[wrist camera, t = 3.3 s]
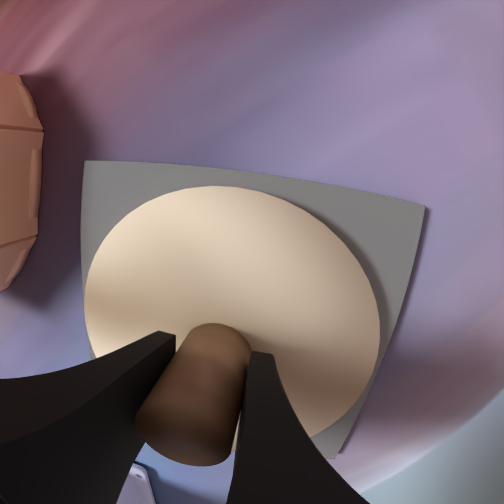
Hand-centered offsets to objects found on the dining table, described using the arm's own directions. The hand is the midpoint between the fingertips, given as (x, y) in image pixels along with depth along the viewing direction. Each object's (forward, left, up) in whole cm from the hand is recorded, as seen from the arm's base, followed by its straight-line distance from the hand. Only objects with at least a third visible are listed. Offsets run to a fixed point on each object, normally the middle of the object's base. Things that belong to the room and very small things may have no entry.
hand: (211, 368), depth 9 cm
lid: (0, 0, -2) cm, 2 cm away
